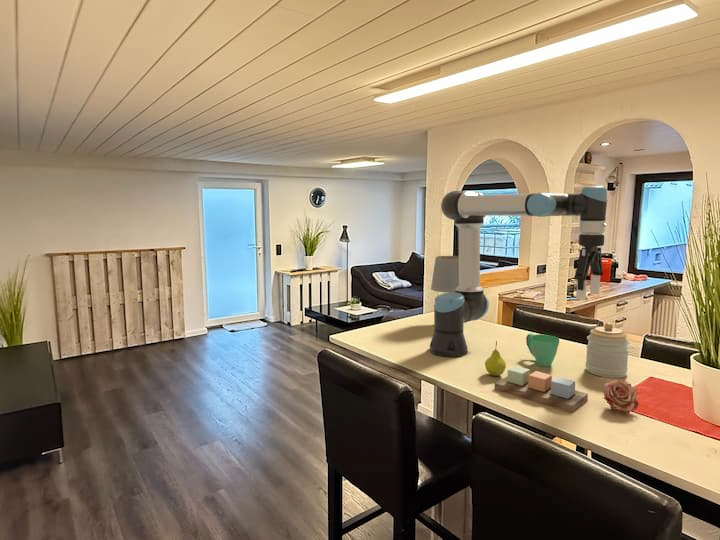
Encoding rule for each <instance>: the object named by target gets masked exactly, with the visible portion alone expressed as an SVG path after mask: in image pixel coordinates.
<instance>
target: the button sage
mask: <svg viewBox="0 0 720 540" xmlns="http://www.w3.org/2000/svg"><path fill="white" fill-rule="evenodd" d="M530 374H531V369H529V368H525V367H523V366H517V365H514V366H512V367H510V368H508V369H507V376H506V377H507V382H510V383H514V385H517V386H521V387H523V385H524V384H526V383H528V382H529V375H530Z"/></svg>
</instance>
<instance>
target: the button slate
mask: <svg viewBox="0 0 720 540" xmlns="http://www.w3.org/2000/svg"><path fill="white" fill-rule="evenodd" d="M575 390H576V380H572V379H568V378H565V377H561V376H558V377H556V378H555V379H552V381H551V394H552V395H556V397H559V398H563V399H566V400H570V399H569V398H570V397H571V396H573V395H574V394H575Z"/></svg>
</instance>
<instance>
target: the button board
mask: <svg viewBox="0 0 720 540" xmlns="http://www.w3.org/2000/svg"><path fill="white" fill-rule="evenodd" d="M528 383H529V382H528ZM528 383H526V384H524V385H523V386H521V385H517V384H514V383H510V382H507V376H505V377H503V378H502V379H500V380H497V381H496V382H494V390H497V391H500V392H503V393H506V394H510V395H513V396H516V397H518V398H519V397H520V398H523V399H525V400H529V401H532V402H535V401H536V403H539V404H542V405H544V406H545V405H546V406H548V407H552V408H555V409H559V410H563V411H565V412H568V413H574V412H575V411H576V410H577V409H578V408H580V407H581V406H583V404H584V403H586V402H587V401H588V400H589V399H588V396H589V393H586V392H584V391H580V390H576V389H575V394H574V395H573V396H571V397H570V398H569V399H566V398H563V397H559V396H556V395H552V394H551V388H550V389H548V390H547V391H545V392H542V391H538V390H535V389H531V388H528Z"/></svg>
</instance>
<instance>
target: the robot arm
mask: <svg viewBox="0 0 720 540" xmlns="http://www.w3.org/2000/svg"><path fill="white" fill-rule="evenodd" d="M440 204H441V205H440V207H441V212H442V213H443V215H444V217H446V218H447V219H449V220H454V225H455V226H456V227H457V229H458V256H459V286H458V287H457V288H456V289H455V292H449V293H446V292H442V293H440V294H438V295H437V296H436V297H435V299H434V305H433V310H434V311H433V312H434V313H433V315H434V316H433V317H434V319H433V320H434V321H433V324H434V325H433V327H434V328H433V331H434V332H433V335H432V337H431V341H430V343H429V352H430V353H431V354H433V355H436V356H440V357H449V358H455V357H457V358H458V357H461V356H462V357H463V356H465V355H467V354H468V348H469V347H468V344H467V341H466V337H465V335H464V328H465V327H464V324H466V323H468V322H472V321H478V320H479V319H481V318H483V317H484V316H485V315H486V314H487V313H488V311H489V308H490V304H489V303H490V302H489V298H488V297H487V296H486V294H485V293H484V292H485V291H484V288H483V287H482V286H481V283H480V281H481V280H480V279H481V276H480V275H481V272H480V271H481V263H480V262H481V255H480V253H481V251H480V250H481V248H480V247H481V244H480V243H481V240H480V239H481V231H480V230H481V227H482V226H483V225H484V223H485V222H484V218H485V217H486V216H496V217H497V216H499V217H500V216H506V217H507V216H509V217H511V216H512V217H513V216H514V217H525V216H526V217H539V218H542V217H543V218H544V217H563V216H565V217H566V216H567V217H569V216H572V217H573V216H576V217H577V216H579V228H578V232H579V233H580V234H579V236H578V245H579V246H580V247H582V246H583V249H581V248H580V250H579V256H578V261H577V266H576V268H575V269H576V270H575V273H574V277H573V280H576V293H575V300H579V301H586V300H587V299H586V298H587V284H588V281H587V276H588V273H589V270H591V274H590V287H589V289H590V291H589V294H590V295H591V294H593V295H600V287H601V285H600V284H601V276H604V270H603V269H604V267H603V262H602V261H603V260H602V247H603V246H604V245H605V234H604V233H605V231H606V228H607V226H608V224H607V223H606V214H607V206H608V189H607V188H606V187H605V186H583V187H582V188H581V192H578V193H553V192H552V193H551V192H549V193H548V192H537V193H535V192H534V193H505V194H504V193H503V194H501V193H500V194H499V193H498V194H494V193H493V194H483V193H482V192H479V191H475V190H453V191H449V192H448V193H446V194H445V195H444V197H443V198H442V200H441V203H440Z"/></svg>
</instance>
